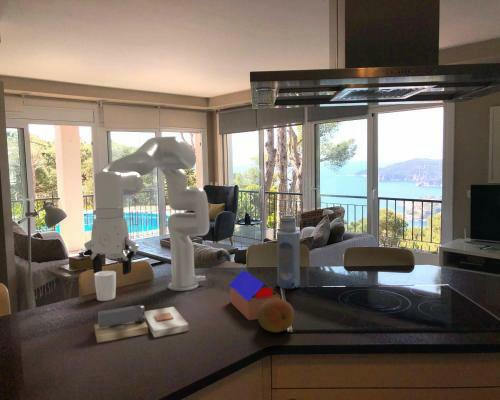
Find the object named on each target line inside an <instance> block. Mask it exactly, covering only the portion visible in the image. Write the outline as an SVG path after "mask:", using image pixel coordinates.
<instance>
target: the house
mask: <svg viewBox="0 0 500 400" xmlns="http://www.w3.org/2000/svg"><path fill="white" fill-rule="evenodd" d="M229 287H230V288H229V289H230V303H231V304H232V305H233V306H234V307H235V308H236V310H238V311H239V312H240V313H241V314H242V315H243V316H244V317H245V318H246V319H247V320H248V321H252V320H258V313H259V309H260V307H261V306H262V304H263V303H265V302H266V301H268V300H270V299H275V298H278V299H281V295H280V294H279V293H278V292H277V291H274V290H273V289H272V288H271V287H269V286H268V285H267V284H265V283H263V282H262V281H261V280H259V279H258V278H256V277H255V276H254V275H252V274H250V273H249V272H248V271H246V270H245V269H243V270H242V272H241V273H240V274H238V275H237V276H236V278H234V279H233V280H232V281H231V283H229ZM258 298H259V299H258ZM251 299H252V300H251Z"/></svg>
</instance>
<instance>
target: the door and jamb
mask: <svg viewBox="0 0 500 400" xmlns="http://www.w3.org/2000/svg"><path fill="white" fill-rule="evenodd" d="M93 326H94V334H95V335H94V336H95V339H96V343H97V344H99V343H105V342H110V341H111V342H112V341H115V340H120V339H126V338H132V337H134V336H141V335H147V334H149V331H150V332H151V334H152V336H153V338H159V337H164V336H168V335H169V336H170V335H174V334H179V333H183V332H188V331H189V330H190V329H189V327H190V326H189V323H188V322H187V321H186V319H184V317H183V315H181V314H180V313H179V311H178V310H177V308H175V306H169V307H164V308H157V309H150V310H145V322H143V323H135V322H130V323H125V324H119V325H113V326H108V327H102V328H99V325H98V323H95V324H94V325H93Z"/></svg>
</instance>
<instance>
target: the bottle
mask: <svg viewBox="0 0 500 400" xmlns="http://www.w3.org/2000/svg"><path fill="white" fill-rule="evenodd" d="M280 222H281V223H280V230H279V231H276V269H277V270H276V271H277V272H276V273H277V274H276V275H277V278H276V279H277V282H276V283H277V286H278V287H280V288H283V289H295V287H296V288H298V287H300V285H301V267H300V266H301V264H300V263H301V257H300V253H301V251H300V249H301V248H300V247H301V246H300V245H301V244H300V241H301V240H300V239H301V238H300V235H301V234H300V231H297V230H296V229H297V226H296V217H295V216H294V214H283V215H282V216H281V218H280Z"/></svg>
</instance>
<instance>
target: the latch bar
mask: <svg viewBox="0 0 500 400" xmlns="http://www.w3.org/2000/svg"><path fill="white" fill-rule="evenodd" d="M145 311H146V309H145V305H144V304H138V305H131V306H125V307H118V308H112V309H105V310H100V311H97V320H98V321H97V324H98V325H99V328H102V327H108V326H113V325H119V324H125V323H130V322H135V323H143V322H145ZM145 323H146V322H145Z"/></svg>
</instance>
